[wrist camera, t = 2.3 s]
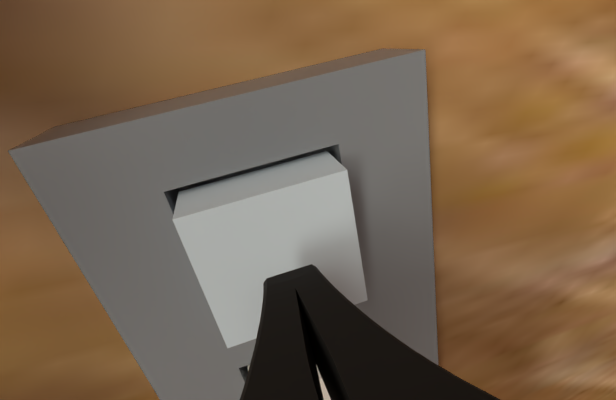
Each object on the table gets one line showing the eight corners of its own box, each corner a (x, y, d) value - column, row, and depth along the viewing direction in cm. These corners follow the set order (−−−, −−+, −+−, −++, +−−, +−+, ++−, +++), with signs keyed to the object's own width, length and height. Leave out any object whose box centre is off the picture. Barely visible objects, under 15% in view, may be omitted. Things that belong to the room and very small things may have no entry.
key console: (255, 504, 23) (260, 564, 21) (54, 126, 12) (7, 150, 9) (418, 437, 25) (443, 484, 22) (382, 48, 13) (425, 49, 11)
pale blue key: (225, 307, 13) (227, 348, 12) (178, 191, 11) (172, 219, 9) (347, 267, 14) (367, 300, 12) (326, 151, 12) (347, 169, 10)
